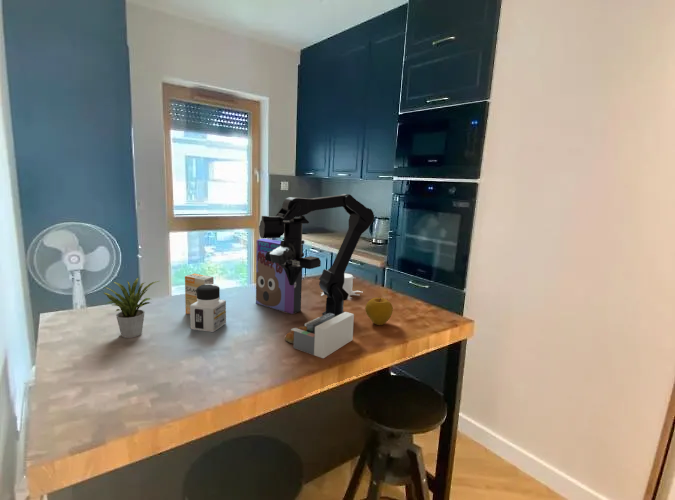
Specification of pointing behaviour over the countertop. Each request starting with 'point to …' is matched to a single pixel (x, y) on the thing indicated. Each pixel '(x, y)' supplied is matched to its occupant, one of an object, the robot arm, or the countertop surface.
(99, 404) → the countertop surface
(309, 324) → the gauge pad
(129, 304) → the house plant
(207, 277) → the supplement box
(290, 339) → the pastry
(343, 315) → the white grey open box
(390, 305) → the apple
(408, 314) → the countertop surface
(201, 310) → the container
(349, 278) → the white wide pronged piece
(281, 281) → the cereal box
